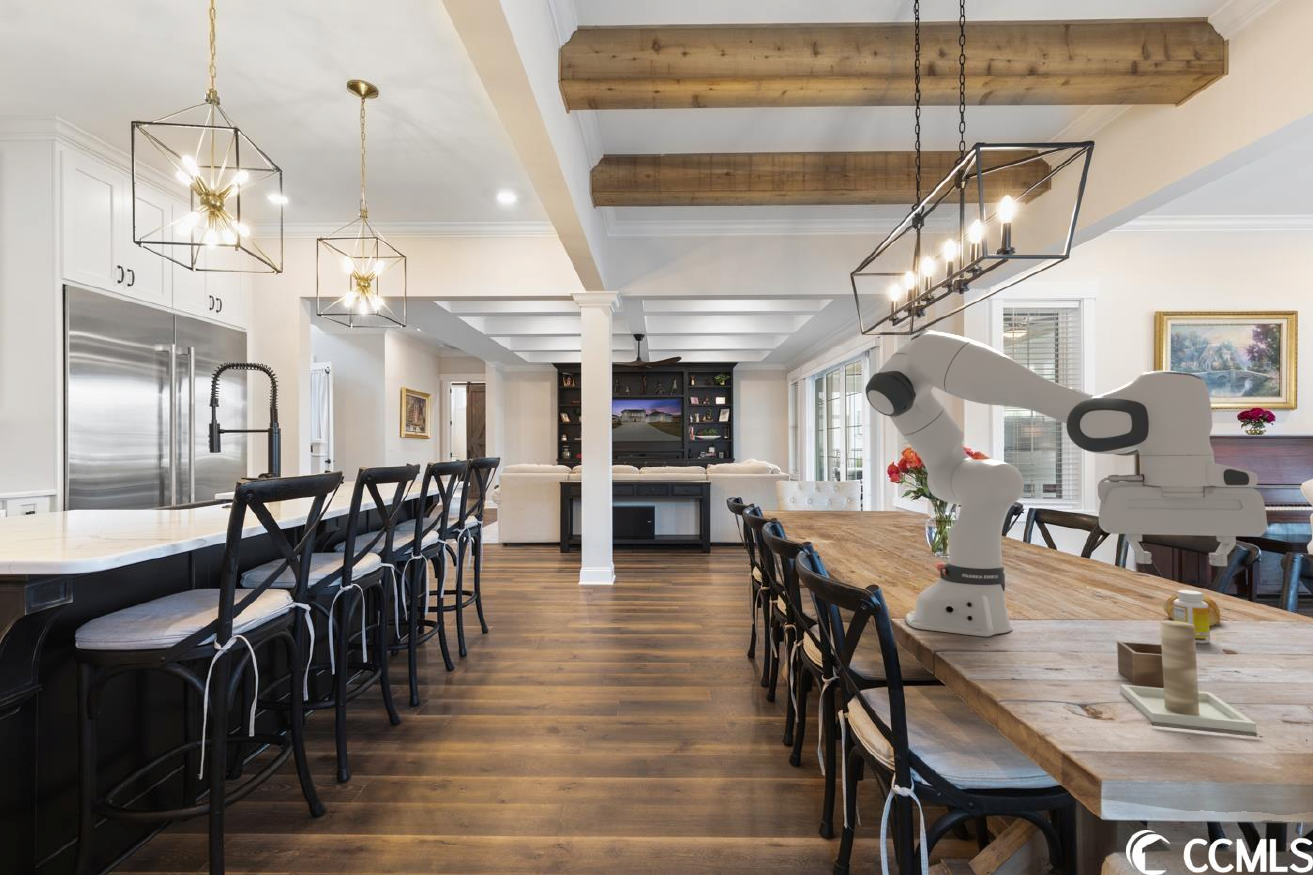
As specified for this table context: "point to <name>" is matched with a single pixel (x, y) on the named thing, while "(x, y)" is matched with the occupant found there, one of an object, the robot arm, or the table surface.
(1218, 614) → the croissant
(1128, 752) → the table surface
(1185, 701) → the dowel
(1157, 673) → the open wooden box
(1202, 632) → the supplement bottle
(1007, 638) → the table surface
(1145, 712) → the tray
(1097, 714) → the table surface
